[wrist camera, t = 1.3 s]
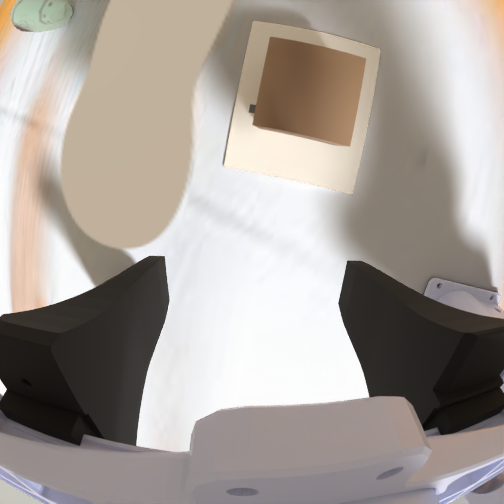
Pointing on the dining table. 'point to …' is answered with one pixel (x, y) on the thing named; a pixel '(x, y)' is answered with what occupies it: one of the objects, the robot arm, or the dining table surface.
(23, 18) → the green seashell
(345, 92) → the block
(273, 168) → the label tile
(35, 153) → the dining table surface
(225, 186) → the dining table surface
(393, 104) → the dining table surface
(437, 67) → the dining table surface
